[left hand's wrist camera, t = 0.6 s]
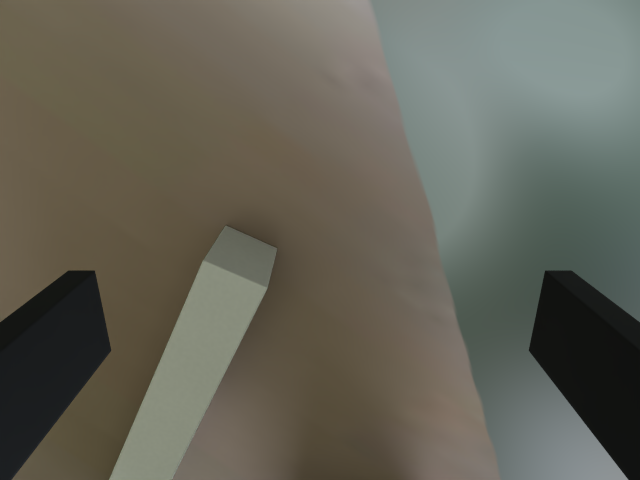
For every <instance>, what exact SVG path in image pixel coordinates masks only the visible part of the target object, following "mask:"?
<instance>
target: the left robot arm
mask: <svg viewBox="0 0 640 480" xmlns="http://www.w3.org/2000/svg"><path fill="white" fill-rule="evenodd" d="M110 351H111V347H110V342H109V337H108V333H107V328H106V323H105V318H104V313H103V308H102V303H101V298H100V293H99V289H98V284H97V279H96V274H95V271H67V272H66V273H65V274H63V275H62V276H61V277H60V278H58V279H57V280H56V281H54V282H53V283H52V284H50V285H49V286H48V287H46V288H45V289H44V290H42V291H41V292H40V293H38V294H37V295H36V296H34V297H33V298H32V299H30V300H29V301H28V302H27V303H25V304H24V305H23V306H21V307H20V308H19V309H17V310H16V311H15V312H13V313H12V314H11V315H9V316H8V317H7V318H5V319H4V320H3V321H1V322H0V480H12V478H13V477H14V476H15V474H16V473H17V472H18V471H19V469H20V468H21V467H22V465H23V464H24V463H25V462H26V460H27V459H28V458H29V456H30V455H31V454H32V452H33V451H34V450H35V449H36V447H37V446H38V445H39V443H40V442H41V441H42V439H43V438H44V437H45V436H46V434H47V433H48V432H49V430H50V429H51V428H52V427H53V425H54V424H55V423H56V421H57V420H58V419H59V417H60V416H61V415H62V414H63V412H64V411H65V410H66V408H67V407H68V406H69V405H70V403H71V402H72V401H73V399H74V398H75V397H76V395H77V394H78V393H79V392H80V390H81V389H82V388H83V386H84V385H85V384H86V383H87V381H88V380H89V379H90V377H91V376H92V375H93V373H94V372H95V371H96V370H97V368H98V367H99V366H100V364H101V363H102V362H103V360H104V359H105V358H106V357H107V355H108V354H109V353H110ZM529 351H530V353H531V354H532V355H533V357H534V358H535V359H536V360H537V362H538V363H539V364H540V366H541V367H542V368H543V370H544V371H545V372H546V373H547V375H548V376H549V377H550V379H551V380H552V381H553V382H554V384H555V385H556V386H557V388H558V389H559V390H560V392H561V393H562V394H563V395H564V397H565V398H566V399H567V400H568V402H569V403H570V404H571V406H572V407H573V408H574V410H575V411H576V412H577V414H578V415H579V416H580V417H581V419H582V420H583V421H584V423H585V424H586V425H587V427H588V428H589V429H590V430H591V432H592V433H593V434H594V436H595V437H596V438H597V439H598V441H599V442H600V443H601V445H602V446H603V447H604V449H605V450H606V451H607V452H608V454H609V455H610V456H611V458H612V459H613V460H614V461H615V463H616V464H617V465H618V467H619V468H620V469H621V471H622V472H623V473H624V474H625V476H626V477H627V478H628V480H640V322H639V321H637V320H636V319H635V318H633V317H632V316H631V315H629V314H628V313H627V312H625V311H624V310H623V309H621V308H620V307H619V306H617V305H616V304H615V303H613V302H612V301H611V300H610V299H608V298H607V297H606V296H604V295H603V294H602V293H600V292H599V291H598V290H596V289H595V288H594V287H592V286H591V285H590V284H588V283H587V282H586V281H584V280H583V279H582V278H580V277H579V276H578V275H577V274H575V273H574V272H573V271H545V274H544V279H543V284H542V289H541V294H540V298H539V303H538V308H537V313H536V318H535V323H534V328H533V333H532V337H531V343H530V347H529Z"/></svg>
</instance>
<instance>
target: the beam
mask: <svg viewBox="0 0 640 480" xmlns="http://www.w3.org/2000/svg"><path fill="white" fill-rule="evenodd" d="M276 253H277V248H275V247H273V246H271V245H269V244H266V243H264V242H262V241H260V240H258V239H255V238H253V237H251V236H249V235H246V234H244V233H242V232H240V231H237V230H235V229H233V228H231V227H228V226H225V227H224V228H223V230H222V232H221V233H220V235H219V236H218V238H217V239H216V241H215V242H214V244H213V246H212V247H211V249H210V250H209V252H208V253H207V255H206V257H205V258H204V260H203V261H202V264H201V266H200V268H199V271H198V273H197V275H196V278H195V280H194V283H193V285H192V287H191V290H190V292H189V294H188V297H187V299H186V301H185V304H184V306H183V308H182V311H181V313H180V315H179V318H178V320H177V322H176V325H175V327H174V329H173V332H172V334H171V336H170V339H169V341H168V343H167V346H166V348H165V350H164V353H163V355H162V357H161V360H160V362H159V364H158V367H157V369H156V371H155V374H154V376H153V378H152V381H151V383H150V385H149V388H148V390H147V392H146V395H145V397H144V399H143V402H142V404H141V406H140V409H139V411H138V413H137V416H136V418H135V420H134V423H133V425H132V427H131V430H130V432H129V434H128V437H127V439H126V441H125V444H124V446H123V448H122V451H121V453H120V455H119V458H118V460H117V462H116V465H115V467H114V469H113V472H112V474H111V476H110V479H109V480H172V478H173V476H174V474H175V472H176V470H177V468H178V466H179V464H180V462H181V460H182V458H183V456H184V454H185V452H186V450H187V448H188V446H189V444H190V442H191V440H192V438H193V436H194V434H195V432H196V430H197V428H198V426H199V424H200V422H201V420H202V418H203V416H204V414H205V412H206V410H207V408H208V406H209V404H210V402H211V400H212V398H213V396H214V394H215V392H216V390H217V388H218V386H219V384H220V382H221V380H222V378H223V376H224V374H225V372H226V370H227V368H228V366H229V364H230V362H231V360H232V358H233V356H234V354H235V352H236V350H237V348H238V346H239V344H240V342H241V340H242V338H243V336H244V334H245V332H246V330H247V328H248V326H249V324H250V322H251V320H252V318H253V316H254V314H255V312H256V310H257V308H258V306H259V304H260V302H261V300H262V298H263V296H264V294H265V292H266V290H267V288H268V285H269V281H270V277H271V273H272V269H273V265H274V261H275V257H276Z"/></svg>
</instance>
